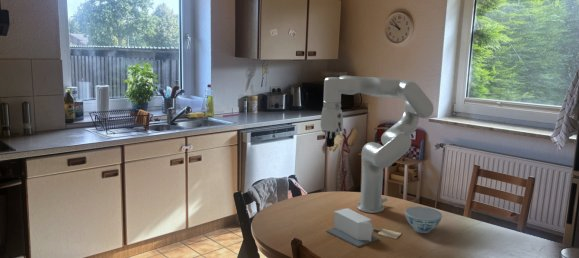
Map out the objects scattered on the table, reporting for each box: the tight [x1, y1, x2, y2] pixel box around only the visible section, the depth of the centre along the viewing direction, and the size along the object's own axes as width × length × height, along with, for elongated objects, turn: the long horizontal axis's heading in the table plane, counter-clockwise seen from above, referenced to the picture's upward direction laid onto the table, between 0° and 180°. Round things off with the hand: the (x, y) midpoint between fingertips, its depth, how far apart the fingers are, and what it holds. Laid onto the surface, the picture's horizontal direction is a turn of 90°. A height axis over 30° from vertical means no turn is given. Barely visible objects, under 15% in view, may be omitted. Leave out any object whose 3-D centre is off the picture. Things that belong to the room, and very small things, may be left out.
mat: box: [326, 227, 380, 248], centre depth 200 cm, size 12×18×1 cm, turn 38°
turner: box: [373, 227, 402, 240], centre depth 205 cm, size 6×17×1 cm, turn 58°
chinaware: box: [404, 205, 443, 234], centre depth 207 cm, size 15×15×8 cm
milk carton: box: [333, 207, 375, 241], centre depth 201 cm, size 7×7×19 cm
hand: (330, 146), depth 219 cm, fingers closed
